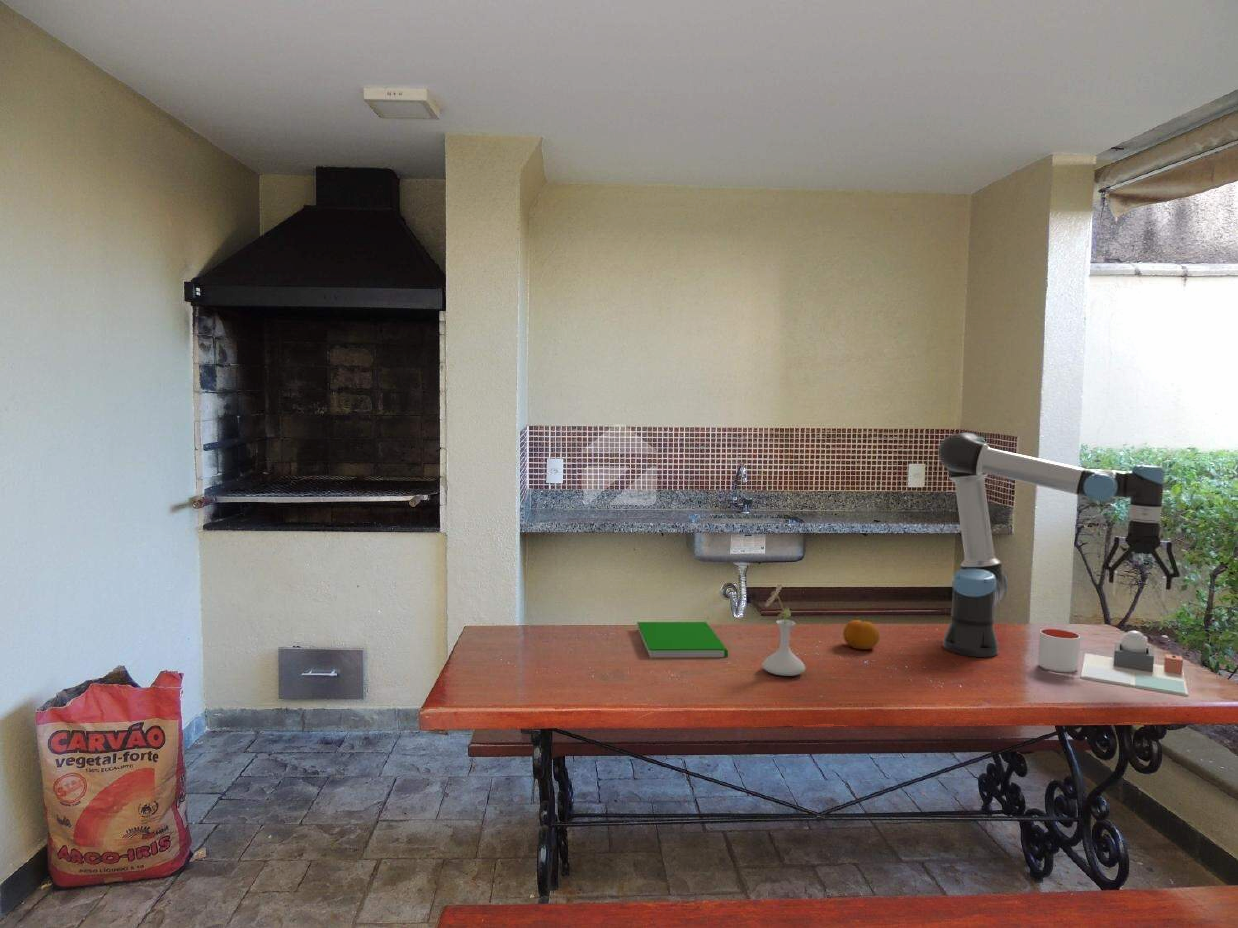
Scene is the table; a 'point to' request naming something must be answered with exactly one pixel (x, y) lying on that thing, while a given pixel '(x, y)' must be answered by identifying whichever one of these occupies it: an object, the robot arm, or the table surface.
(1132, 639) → the dome button
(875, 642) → the fruit
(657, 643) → the book
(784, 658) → the flower in vase
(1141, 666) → the dome housing
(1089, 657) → the game board
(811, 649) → the table surface
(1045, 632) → the cup
